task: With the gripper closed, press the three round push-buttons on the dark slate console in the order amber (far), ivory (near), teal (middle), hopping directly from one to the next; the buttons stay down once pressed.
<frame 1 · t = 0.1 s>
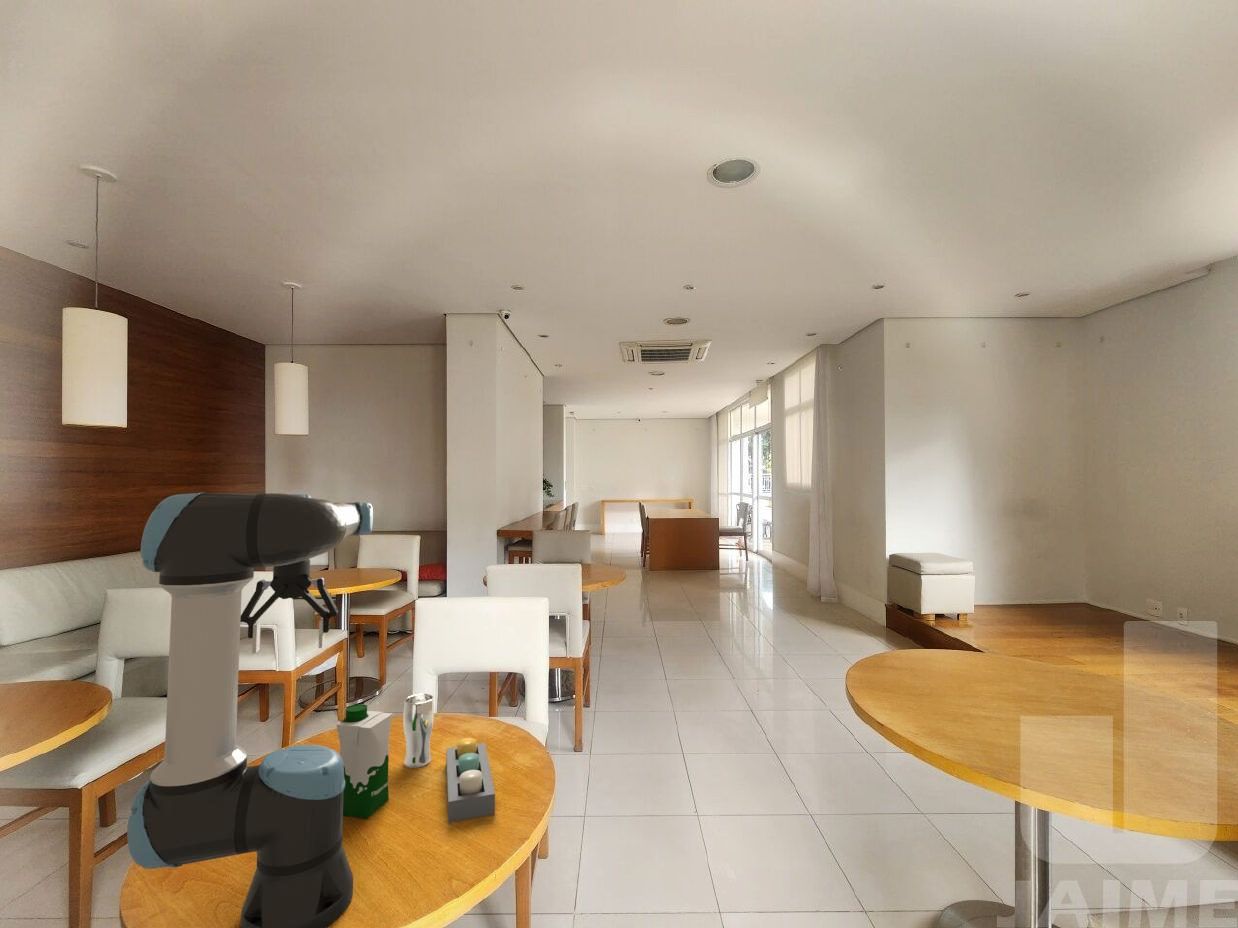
hand: (289, 649, 129), 28 cm above the table, fingers open, 13 cm apart
milk carton: (363, 808, 113), on the table
button amber: (466, 749, 128), point 5 cm above the table, slide at 0.0 cm
console: (468, 787, 120), on the table
button ivory: (470, 783, 113), point 5 cm above the table, slide at 0.0 cm
beer glass: (417, 762, 132), on the table
button teal: (468, 765, 121), point 5 cm above the table, slide at 0.0 cm
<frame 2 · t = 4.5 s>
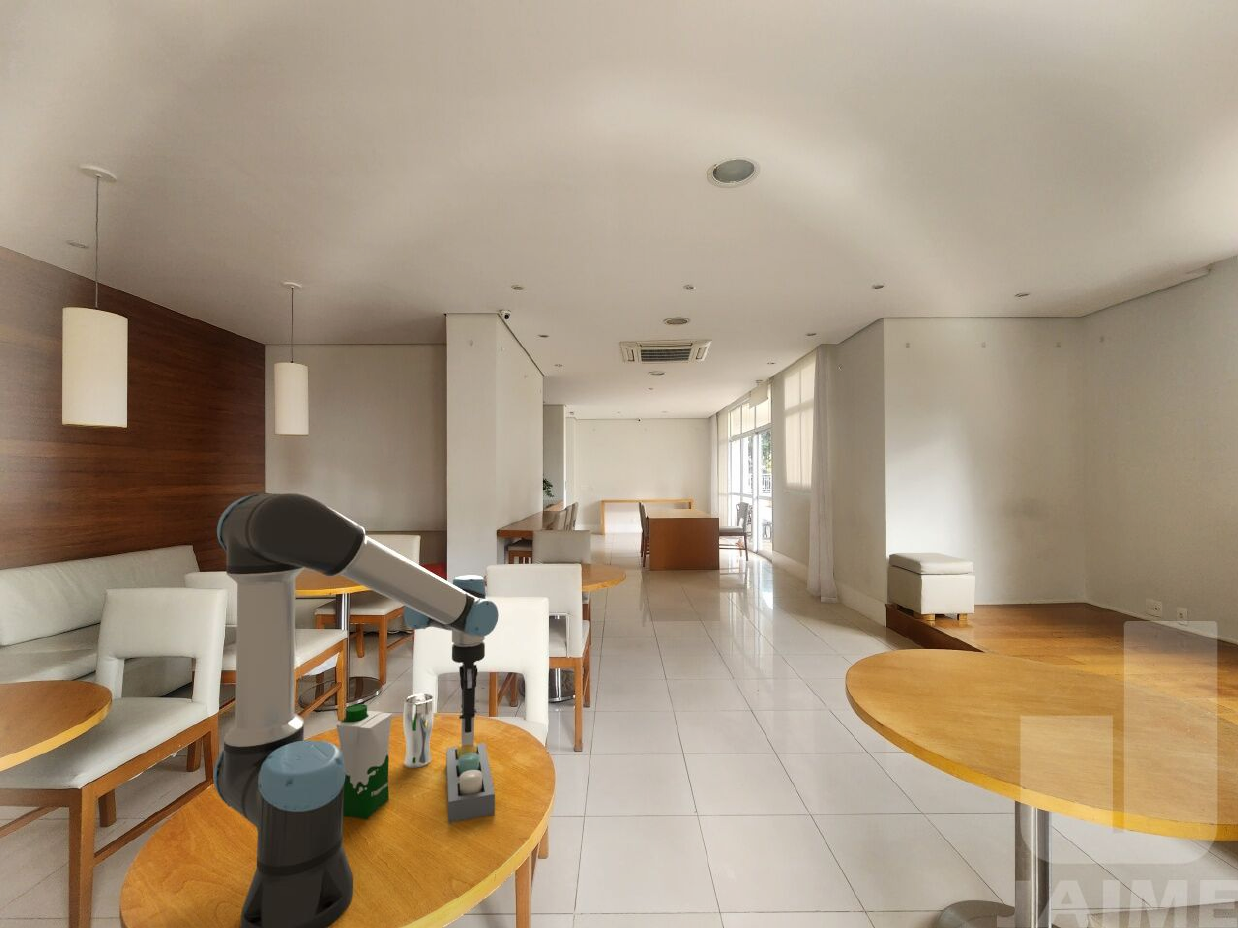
hand: (467, 743, 128), 6 cm above the table, fingers closed
button amber: (466, 752, 128), point 4 cm above the table, slide at 0.8 cm, touching gripper
everything else where it was.
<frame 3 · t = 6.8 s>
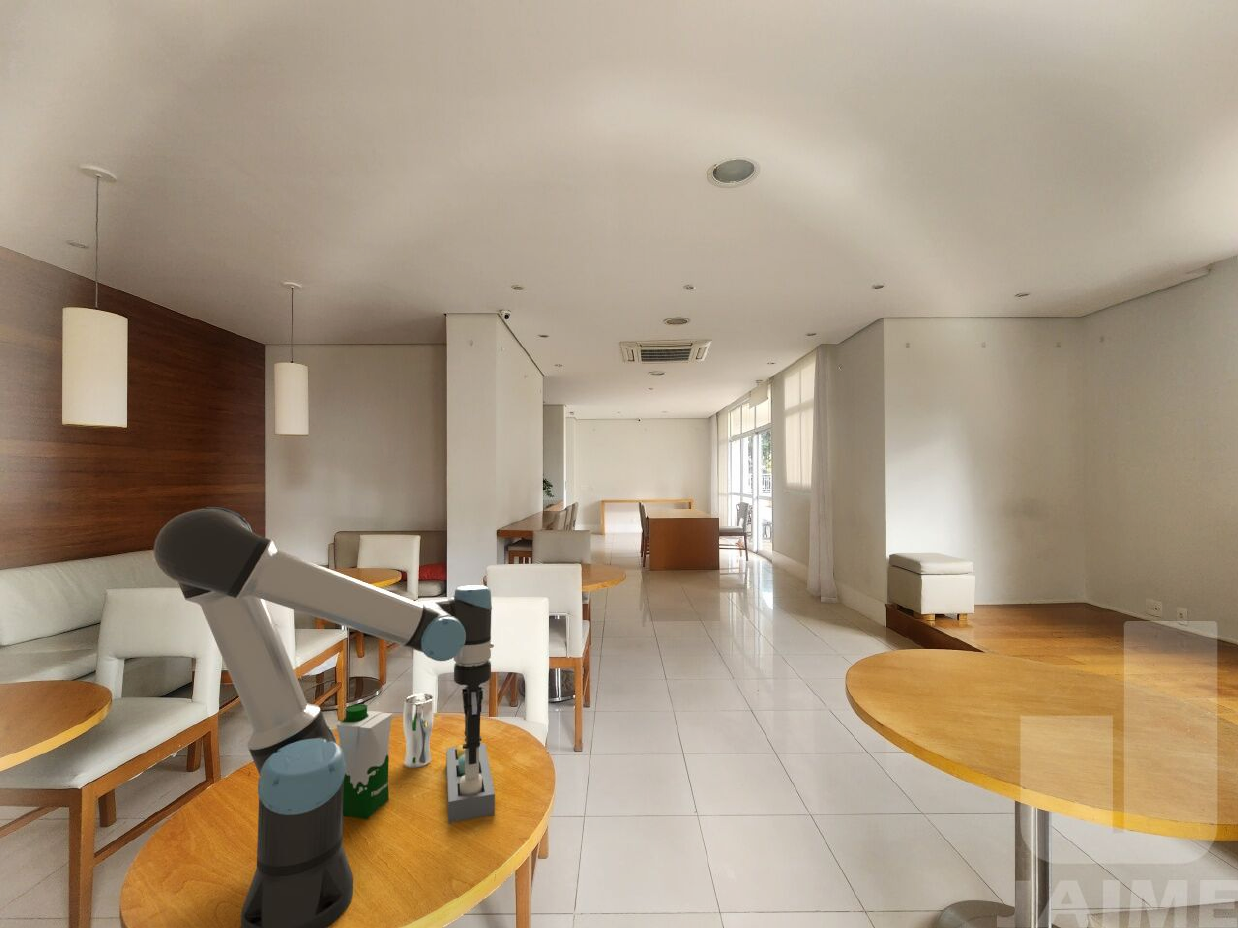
hand: (471, 776, 113), 6 cm above the table, fingers closed
button amber: (466, 754, 128), point 4 cm above the table, slide at 1.3 cm
button ivory: (470, 786, 113), point 4 cm above the table, slide at 0.7 cm, touching gripper
everything else where it was.
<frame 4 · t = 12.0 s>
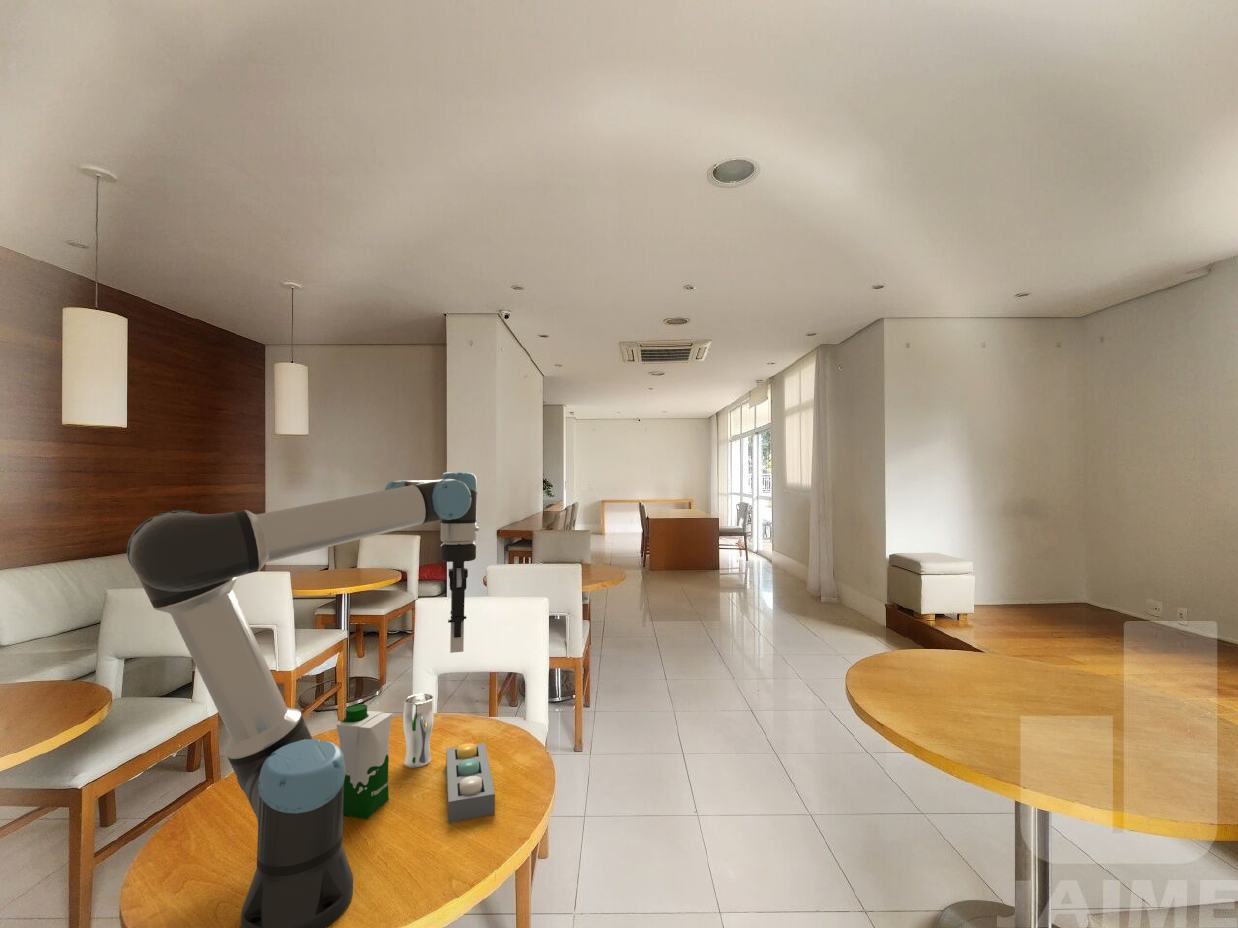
hand: (456, 651, 119), 30 cm above the table, fingers closed
button ivory: (470, 789, 113), point 4 cm above the table, slide at 1.3 cm
button teal: (468, 770, 120), point 4 cm above the table, slide at 1.3 cm
everything else where it was.
at the end: button amber slide at 1.3 cm; button ivory slide at 1.3 cm; button teal slide at 1.3 cm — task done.
